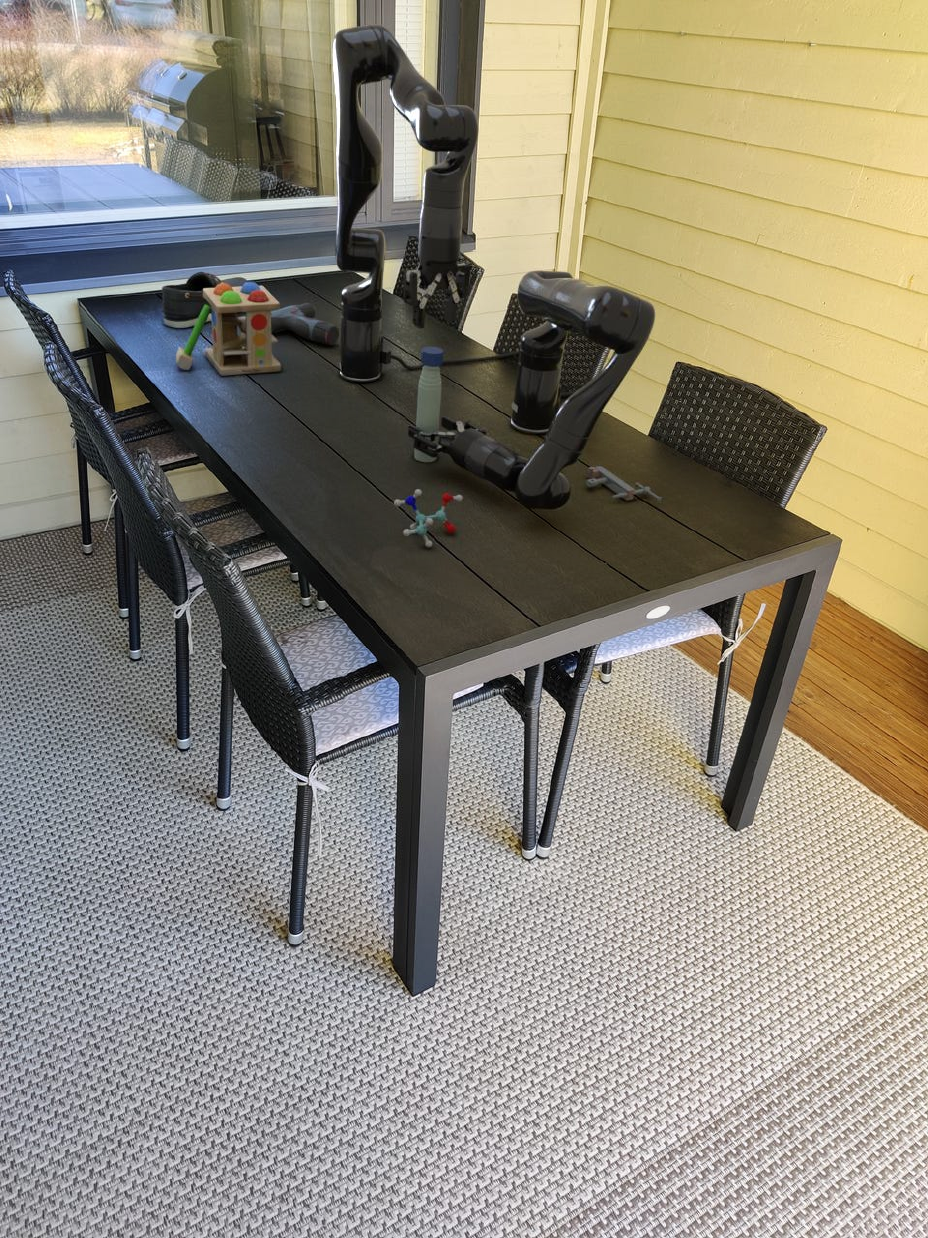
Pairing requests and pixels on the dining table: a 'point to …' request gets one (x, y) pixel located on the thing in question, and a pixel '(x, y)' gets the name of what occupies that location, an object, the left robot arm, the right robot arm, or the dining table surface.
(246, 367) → the pounding bench toy
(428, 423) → the bottle
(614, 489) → the clamp
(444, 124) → the left robot arm
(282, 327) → the power drill
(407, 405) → the dining table surface
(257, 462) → the dining table surface
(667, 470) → the dining table surface
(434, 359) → the cap
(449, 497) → the molecular model
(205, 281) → the boat shoe
